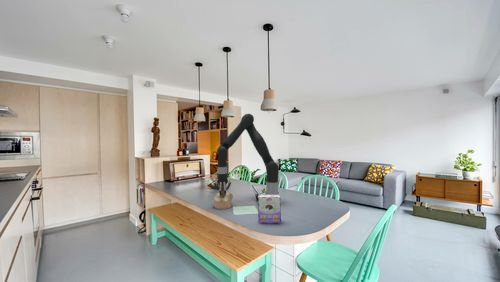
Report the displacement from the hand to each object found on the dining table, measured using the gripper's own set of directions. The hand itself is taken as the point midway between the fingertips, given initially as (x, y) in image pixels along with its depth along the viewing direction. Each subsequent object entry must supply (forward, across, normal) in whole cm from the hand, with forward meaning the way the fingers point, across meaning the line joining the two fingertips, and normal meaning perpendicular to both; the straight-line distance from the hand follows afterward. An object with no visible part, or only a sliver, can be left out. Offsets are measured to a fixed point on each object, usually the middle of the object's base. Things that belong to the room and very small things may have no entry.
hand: (222, 195), depth 163 cm
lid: (+2, 0, 0) cm, 2 cm away
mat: (+9, -16, +11) cm, 21 cm away
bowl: (+9, 0, 0) cm, 9 cm away
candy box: (+9, -29, +34) cm, 46 cm away
